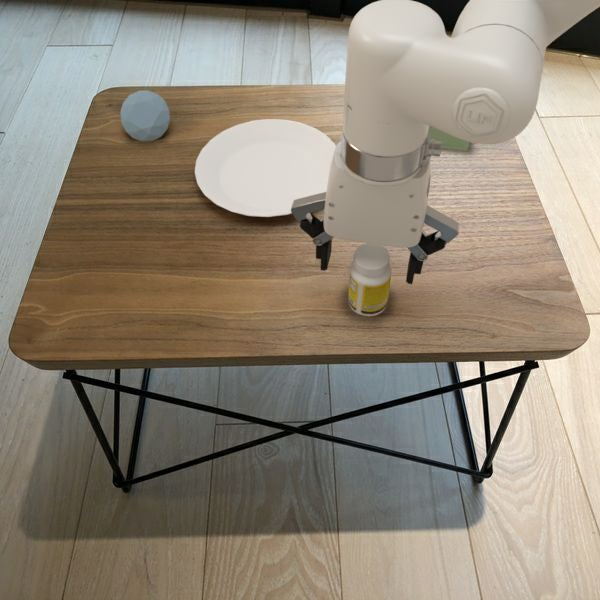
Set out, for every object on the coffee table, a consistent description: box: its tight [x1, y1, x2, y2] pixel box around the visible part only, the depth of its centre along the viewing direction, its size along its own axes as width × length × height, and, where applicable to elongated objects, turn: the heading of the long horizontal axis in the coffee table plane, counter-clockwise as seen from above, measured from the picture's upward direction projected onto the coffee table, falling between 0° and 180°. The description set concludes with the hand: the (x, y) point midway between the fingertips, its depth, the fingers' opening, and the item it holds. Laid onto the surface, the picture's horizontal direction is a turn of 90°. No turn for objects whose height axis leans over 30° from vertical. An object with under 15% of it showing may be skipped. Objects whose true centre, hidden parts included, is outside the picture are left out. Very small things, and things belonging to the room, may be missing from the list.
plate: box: [194, 118, 337, 218], centre depth 88 cm, size 21×21×2 cm
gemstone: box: [119, 90, 171, 142], centre depth 95 cm, size 8×8×5 cm
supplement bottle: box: [347, 243, 393, 317], centre depth 71 cm, size 5×5×8 cm
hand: (367, 267), depth 69 cm, fingers open, 9 cm apart
